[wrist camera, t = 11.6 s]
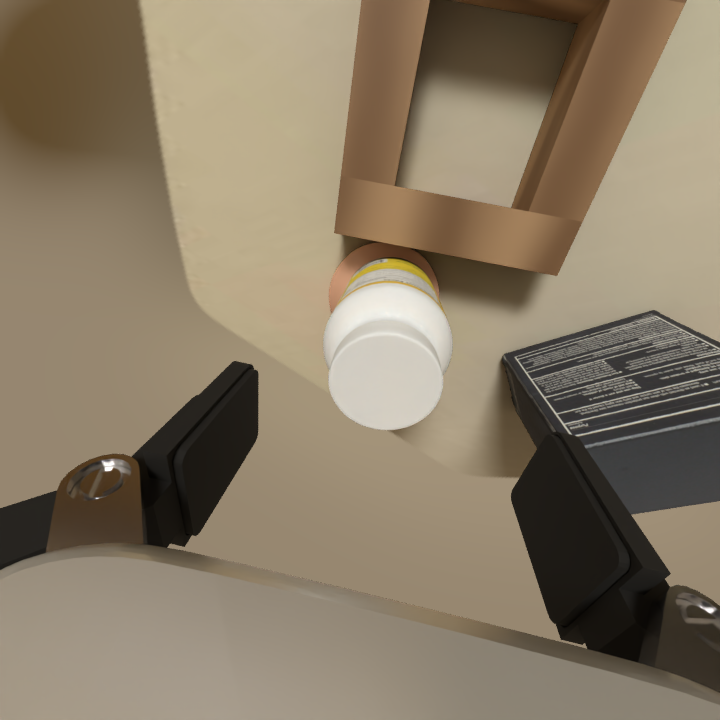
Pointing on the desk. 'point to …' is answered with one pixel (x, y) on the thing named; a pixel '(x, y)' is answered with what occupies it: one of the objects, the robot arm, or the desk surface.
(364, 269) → the pill bottle
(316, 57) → the desk surface
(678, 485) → the small box
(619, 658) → the robot arm
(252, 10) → the desk surface
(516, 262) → the pocket holder
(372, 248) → the coaster
